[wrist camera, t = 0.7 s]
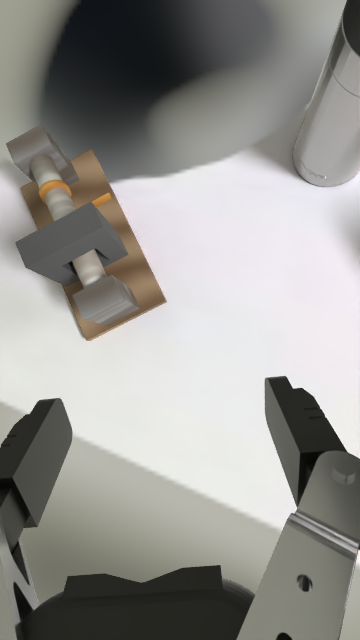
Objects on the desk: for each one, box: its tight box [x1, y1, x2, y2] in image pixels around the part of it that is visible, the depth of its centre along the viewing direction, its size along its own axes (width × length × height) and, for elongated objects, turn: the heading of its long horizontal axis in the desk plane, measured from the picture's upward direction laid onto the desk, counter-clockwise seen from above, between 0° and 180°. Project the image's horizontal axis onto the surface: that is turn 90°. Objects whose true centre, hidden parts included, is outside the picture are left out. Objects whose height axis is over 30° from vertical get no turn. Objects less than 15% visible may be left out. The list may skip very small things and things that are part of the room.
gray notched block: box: [16, 202, 129, 286], centre depth 36 cm, size 3×9×9 cm, turn 116°
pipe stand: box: [6, 124, 167, 341], centre depth 40 cm, size 25×12×9 cm, turn 26°
